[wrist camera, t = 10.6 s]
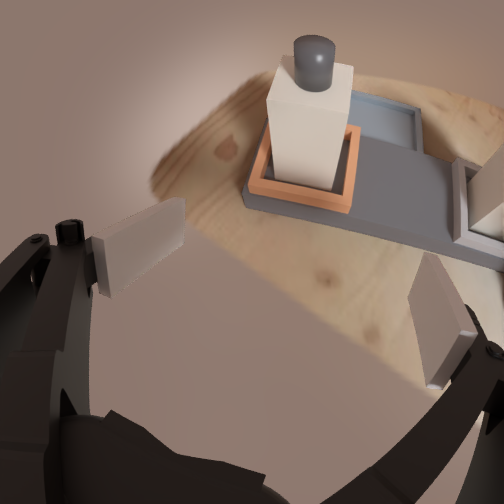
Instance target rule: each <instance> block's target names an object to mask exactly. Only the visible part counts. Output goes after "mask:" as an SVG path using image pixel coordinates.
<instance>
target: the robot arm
mask: <svg viewBox="0 0 504 504" xmlns="http://www.w3.org/2000/svg"><path fill="white" fill-rule="evenodd" d="M185 205H186V199H185V198H179V197H172V198H170V199H168V200H165V201H163V202H161V203H159V204H156V205H154V206H152V207H150V208H148V209H145V210H143V211H141V212H139V213H137V214H135V215H132V216H130V217H128V218H126V219H124V220H122V221H120V222H118V223H116V224H114V225H112V226H110V227H108V228H106V229H104V230H102V231H100V232H98V233H96V234H94V235H92V236H91V237H90V238H88V239H86V240H85V237H84V228H83V221H81V220H77V219H70V220H65V221H62V222H60V223H58V224H56V226H55V229H56V236H57V242H58V244H57V246H55V245H50V243H49V237H48V235H46V234H34V235H32V236H31V237H28V238H27V239H26V240H24V241H23V242H22V243H21V244H20V245H19V246H18V247H17V248H16V249H15V250H14V251H13V252H12V253H11V254H10V255H9V256H8V257H7V258H6V259H5V260H3V262H2V263H1V264H0V504H290V503H289V502H288V501H287V500H286V499H284V498H283V497H282V496H281V495H280V494H278V493H277V492H275V491H274V490H272V489H271V488H269V487H267V486H265V485H264V484H263V482H264V479H265V476H266V475H265V474H261V473H257V472H254V471H251V470H247V469H244V468H241V467H238V466H235V465H232V464H229V463H226V462H223V461H215V460H208V459H202V458H196V457H190V456H184V455H180V454H177V453H175V452H173V451H172V450H171V449H169V448H168V447H166V446H165V445H164V444H163V443H162V442H160V441H159V440H158V439H157V438H155V437H154V436H153V435H152V434H151V433H149V432H148V431H147V430H146V429H145V428H144V427H142V426H140V425H138V424H136V423H134V422H132V421H130V420H128V419H127V418H125V417H123V416H121V415H120V414H118V413H116V412H114V411H113V410H110V412H109V413H108V414H107V415H106V416H105V418H104V417H99V416H94V415H90V409H89V340H90V321H91V307H92V297H93V291H92V285H93V284H94V283H96V282H97V283H98V289H99V293H100V294H102V295H104V296H107V297H109V298H113V297H114V296H115V295H117V294H118V293H119V292H120V291H122V290H123V289H124V288H126V287H127V286H128V285H130V284H131V283H132V282H133V281H135V280H136V279H137V278H139V277H140V276H141V275H143V274H144V273H145V272H146V271H148V270H149V269H151V268H152V267H153V266H155V265H156V264H157V263H159V262H160V261H161V260H163V259H164V258H165V257H166V256H168V255H169V254H171V253H172V252H173V251H175V250H176V249H177V248H179V247H180V246H182V245H183V244H184V236H185ZM31 277H32V281H33V282H32V281H31ZM408 301H409V305H410V309H411V313H412V317H413V322H414V326H415V330H416V335H417V340H418V344H419V349H420V354H421V360H422V365H423V371H424V377H425V383H426V388H433V389H440V390H443V388H444V387H445V385H446V384H447V383H448V381H449V380H450V379H451V385H450V386H449V387H448V389H447V390H446V391H445V392H444V393H443V395H442V396H441V397H440V398H439V399H438V401H437V402H436V403H435V404H434V405H433V406H432V408H431V409H430V410H429V411H428V412H427V413H426V415H424V417H423V418H422V419H421V420H420V421H419V422H418V423H417V424H416V425H415V426H414V427H413V428H412V429H411V430H410V431H409V432H408V433H407V434H406V435H405V437H403V438H402V439H401V440H400V441H399V442H398V443H397V444H396V445H395V446H394V447H393V448H392V449H391V450H390V451H389V452H388V453H387V454H385V455H384V456H383V457H382V458H381V459H380V460H379V461H377V462H376V463H375V464H374V465H373V466H371V467H369V468H368V469H367V470H365V471H364V472H362V473H361V474H360V475H359V476H357V477H356V478H355V479H354V480H352V481H351V482H350V483H348V484H347V485H346V486H344V487H343V488H342V489H340V490H339V491H338V492H336V493H335V494H333V495H332V496H331V497H329V498H328V499H326V500H325V501H323V502H322V503H320V504H415V503H416V501H417V500H418V499H419V498H420V497H421V496H422V495H423V493H424V492H425V491H426V490H427V489H428V488H429V486H430V485H431V484H432V483H433V482H434V480H435V479H436V478H437V477H438V475H439V474H440V473H441V471H442V470H443V469H444V467H445V466H446V465H447V463H448V462H449V461H450V459H451V458H452V457H453V455H454V454H455V452H456V451H457V450H458V448H459V447H460V445H461V443H462V442H463V440H464V439H465V437H466V436H467V434H468V433H469V431H470V430H471V428H472V426H473V425H474V423H475V421H476V420H477V418H478V416H479V415H480V413H481V411H484V417H483V421H482V425H481V429H480V433H479V437H478V441H477V444H476V448H475V451H474V455H473V458H472V461H471V464H470V467H469V470H468V473H467V476H466V478H465V481H464V484H463V486H462V489H461V491H460V494H459V496H458V499H457V501H456V504H504V350H503V349H502V348H501V347H500V346H499V345H498V344H496V343H494V342H492V341H488V340H487V338H486V335H485V333H484V331H483V329H482V327H481V326H480V323H479V321H478V320H477V317H476V315H475V313H474V311H473V310H472V309H471V308H470V307H469V306H468V305H466V304H464V303H463V301H462V299H461V297H460V295H459V293H458V291H457V289H456V288H455V286H454V284H453V282H452V280H451V279H450V277H449V275H448V273H447V271H446V270H445V268H444V266H443V265H442V263H441V261H440V259H439V258H438V256H437V255H434V254H431V253H427V252H424V254H423V257H422V260H421V263H420V266H419V269H418V272H417V274H416V277H415V280H414V282H413V285H412V288H411V290H410V293H409V295H408Z"/></svg>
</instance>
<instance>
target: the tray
mask: <svg viewBox="0 0 504 504" xmlns="http://www.w3.org/2000/svg"><path fill="white" fill-rule="evenodd" d="M347 124H350V125H354V126H358V127H361V131H360V136H364V137H368V138H372V139H376V140H380V141H383V142H387V143H391V144H394V145H398V146H401V147H405V148H408V149H411V150H414V151H418V152H421V153H424V150H423V132H422V119H421V109H420V108H417V107H414V106H410V105H407V104H404V103H401V102H397V101H394V100H390V99H387V98H383V97H379V96H375V95H371V94H367V93H363V92H359V91H355V90H351V99H350V108H349V115H348V120H347Z"/></svg>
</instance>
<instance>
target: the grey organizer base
mask: <svg viewBox="0 0 504 504" xmlns="http://www.w3.org/2000/svg"><path fill="white" fill-rule="evenodd" d="M360 131H361V127H358V126H354V125H350V124H347V125H346V129H345V134H344V139H343V143H342V147H341V152H340V156H339V160H338V165H337V169H336V173H335V177H334V181H333V185H332V189H331V191H328V190H323V189H319V188H314V187H310V186H305V185H300V184H295V183H290V182H285V181H280V180H275V174H274V164H273V155H272V145H271V136H270V127H269V119H268V118H266V121H265V124H264V127H263V130H262V133H261V136H260V139H259V142H258V145H257V148H256V151H255V154H254V157H253V160H252V163H251V166H250V169H249V172H248V175H247V178H246V181H245V184H244V187H243V190H242V197H243V200H244V203H245V206H246V208H250V209H255V210H259V211H264V212H269V213H274V214H279V215H283V216H288V217H292V218H297V219H302V220H306V221H311V222H315V223H319V224H324V225H328V226H332V227H337V228H341V229H345V230H349V231H353V232H358V233H362V234H366V235H370V236H374V237H378V238H382V239H386V240H390V241H393V242H397V243H401V244H405V245H409V246H413V247H416V248H420V249H424V250H427V251H431V252H435V253H438V254H442V255H445V256H449V257H452V258H456V259H459V260H463V261H466V262H470V263H473V264H476V265H480V266H483V267H486V268H490V269H493V270H496V271H499V272H503V273H504V242H503V241H501V240H498V239H495V238H492V237H490V236H487V235H484V234H481V233H478V232H475V231H472V230H469V229H468V199H467V183H468V182H469V181H470V180H471V179H472V178H473V177H474V176H475V175H476V174H477V173H478V171H479V170H480V169H481V168H482V167H481V166H479V165H476V164H474V163H472V162H469V161H467V160H464V159H462V158H459V157H457V158H456V159H455V161H454V162H453V163H450V162H447V161H444V160H441V159H439V158H436V157H433V156H430V155H427V154H424V153H421V152H418V151H414V150H411V149H408V148H405V147H401V146H398V145H394V144H391V143H387V142H383V141H380V140H376V139H372V138H368V137H364V136H360Z"/></svg>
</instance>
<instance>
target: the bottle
mask: <svg viewBox="0 0 504 504" xmlns="http://www.w3.org/2000/svg"><path fill="white" fill-rule="evenodd" d="M334 57H335V44H334V43H333V42H332V41H331V40H329V39H327V38H325V37H322V36H318V35H306V36H301V37H299V38H297V39H296V40H295V41H294V56H287V55H283V57H282V59H281V62H280V65H279V67H278V70H277V72H276V75H275V78H274V80H273V83H272V86H271V88H270V91H269V94H268V96H267V99H266V102H267V110H268V119H269V127H270V136H271V145H272V155H273V164H274V174H275V180H280V181H285V182H290V183H295V184H300V185H305V186H310V187H314V188H319V189H323V190H328V191H331V189H332V185H333V181H334V177H335V173H336V169H337V165H338V160H339V156H340V152H341V147H342V143H343V139H344V134H345V129H346V125H347V120H348V115H349V108H350V99H351V90H352V80H353V69H354V67H353V66H350V65H345V64H340V63H334Z"/></svg>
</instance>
